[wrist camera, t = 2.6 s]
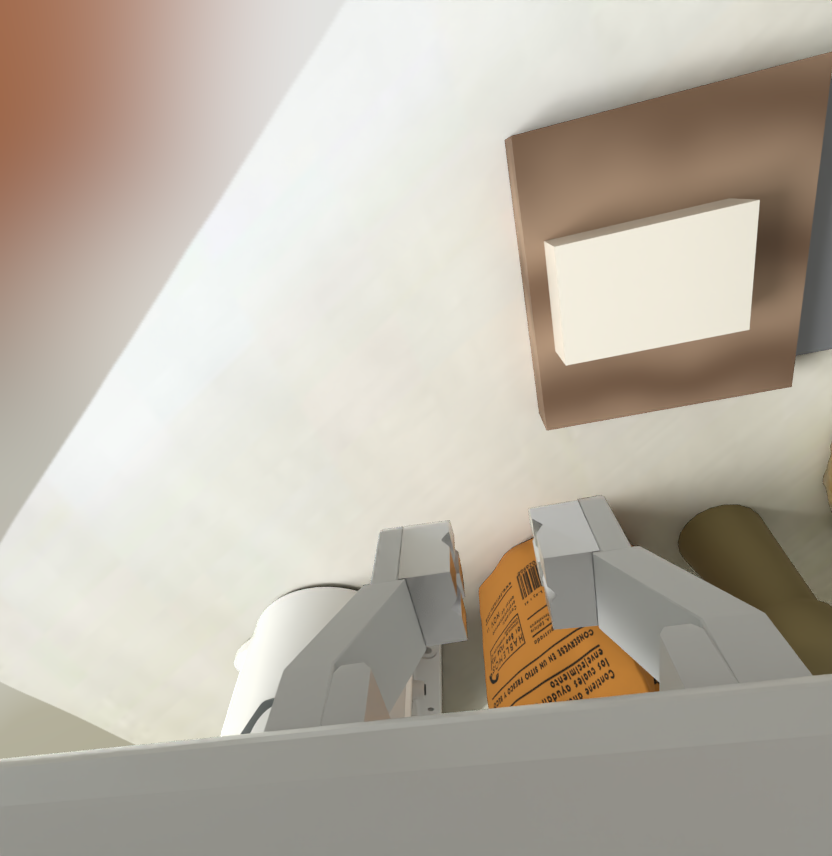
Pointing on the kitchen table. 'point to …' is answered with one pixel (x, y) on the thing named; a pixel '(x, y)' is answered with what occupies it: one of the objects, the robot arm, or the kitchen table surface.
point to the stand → (665, 192)
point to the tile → (653, 281)
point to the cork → (759, 578)
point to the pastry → (829, 480)
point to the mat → (819, 257)
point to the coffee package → (545, 645)
